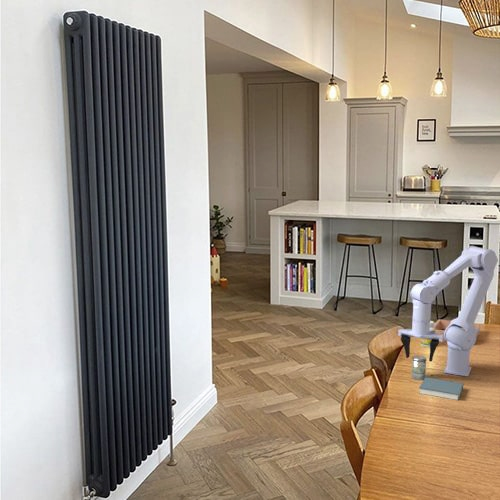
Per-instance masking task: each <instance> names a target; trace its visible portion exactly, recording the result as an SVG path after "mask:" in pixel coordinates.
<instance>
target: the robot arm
mask: <svg viewBox="0 0 500 500" xmlns="http://www.w3.org/2000/svg"><path fill="white" fill-rule="evenodd" d="M498 261H499V259H498V256H497V254H496V252H495V251H494V250H493V249H488V248H483V247H478V246H475V245H469V246H468V247H467V248H465V249H464V250H462V251H461V255H460V256H459V257H458V258H456V259H455V260H454V261H453V262H451V264H450V265H448V266H447V267H446V268H445V269H444V270H435V271H434V272H433V273H432V275H431V276H430V277H427V279H424V280H423V281H422V283H421V282H420V283H416V284H415V285H413V287H412V288H411V290H410V291H409V295H410V297H411V299H412V324H411V326H412V327H411V329H406V328H405V329H403V328H399V329H398V332H397V333H398V334H397V336H398V337H400V342H401V344H402V346H403V349H404V352H405V358H406V359H409V357H410V354H411V352H410V349H411V347H410V346H411V338H415V339H421V338H422V339H429V340H432V341H431V342H430V347H429V357H428V361H429V362H433V358H434V355H435V352H436V350H437V347H438V345H439V343H442V342H444V341H443V335H441V334H436V333H432V332H430V321H431V313H432V302H435V300H436V297H437V295H438V294H439V293H440V292H441V291H442V290H444V289H445V288H446V287H448V286H449V285H450V283H451V279H453V278H454V277H455V276H457V275H459V274H460V273H461V272H464V270H466V269H467V268H470V269H471V270H472V272H473V274H474V278H473V281H472V283H471V285H470V288H469V290H468V293H467V295H466V298H465V300H464V302H463V305H462V306H461V309H460V312H459V315H458V317H456V318H453V319H452V320H450V321H451V323H450V325H449V326H448V327H447V328H446V330H444V331H445V332H444V338H445V340H446V341H445V342H446V345H447V357H446V358H447V359H446V360H447V361H446V367H445V368H444V371H443V373H444V374H449V375H456V376H462V377H469V375H470V373H471V370H472V366H470V356H471V355H470V353H471V350H472V348H473V347H474V346H475V345H474V344H476V342H477V340H476V333H477V329H476V327H475V325H474V324H475V321H476V319H477V316H478V314H479V312H480V309H481V307H482V305H483V302H484V300H485V297H486V296H487V292H488V291H489V288H490V285H491V284H492V281H493V278H494V274H495V268H496V266H497V263H498ZM462 328H465V330H464V329H462ZM475 341H476V342H475Z"/></svg>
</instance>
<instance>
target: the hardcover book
mask: <svg viewBox="0 0 500 500" xmlns="http://www.w3.org/2000/svg"><path fill="white" fill-rule="evenodd" d="M418 389H419V392H418V394H419V395H425V396H431V397H435V398H441V399H442V398H443V399H446V400H451V401H453V400H454V401H459V400H460V397H461V395H462V392H463V390H464V383H463V382H458V381H453V380H446V379H440V378H434V377H433V378H432V377H428V376H425V378H424V380H422V382H421V383H420V385H419V387H418Z"/></svg>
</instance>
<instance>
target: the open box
mask: <svg viewBox="0 0 500 500" xmlns="http://www.w3.org/2000/svg"><path fill="white" fill-rule="evenodd" d="M451 321H452V320H446V319H439V318H438V319H437V320H436V321H435V322H434V326H433V327H435V333H436V334H441V335H443V341H442V342H447V341H446V340H445V338H444V332H445V330H446V328H447V327H448V326H449V325H450V323H451ZM474 325H475V327H476V329H477V333H476V341H475V343H476V342H477V341H478V338H479V336H478V335H480V333H481V332H480V331H481V329H480V328H481V324H479V323H474ZM439 329H440V330H439ZM442 329H444V330H442ZM462 329H464V330H465V328H462ZM477 337H478V338H477Z"/></svg>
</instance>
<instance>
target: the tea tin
mask: <svg viewBox="0 0 500 500" xmlns="http://www.w3.org/2000/svg"><path fill="white" fill-rule="evenodd" d="M411 359H412V361H411V379H413V380H416V381H423V380H424V378H425V377H426V374H427V373H426V372H427V357H426V356H423V355H413V356H412V358H411Z"/></svg>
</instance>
